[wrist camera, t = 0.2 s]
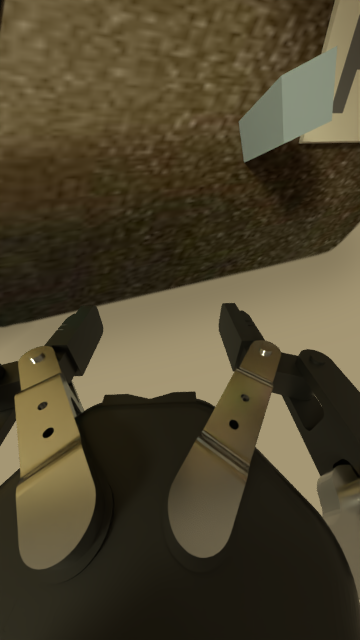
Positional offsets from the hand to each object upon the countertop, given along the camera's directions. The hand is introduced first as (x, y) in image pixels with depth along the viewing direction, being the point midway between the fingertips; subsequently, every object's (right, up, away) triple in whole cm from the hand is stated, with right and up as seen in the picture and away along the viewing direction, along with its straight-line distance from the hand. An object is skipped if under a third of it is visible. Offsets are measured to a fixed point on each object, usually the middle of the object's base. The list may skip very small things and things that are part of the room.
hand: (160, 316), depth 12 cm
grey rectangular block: (+13, +29, +16) cm, 36 cm away
